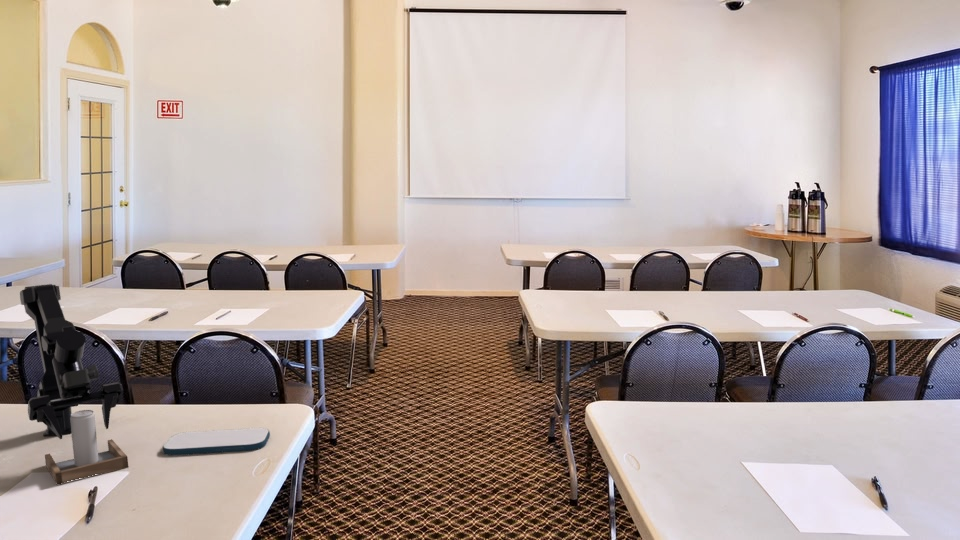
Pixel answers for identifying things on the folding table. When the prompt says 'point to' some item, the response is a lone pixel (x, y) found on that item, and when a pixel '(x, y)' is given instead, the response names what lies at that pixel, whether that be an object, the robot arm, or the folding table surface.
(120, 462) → the bay
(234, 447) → the external hard drive
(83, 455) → the beverage can
